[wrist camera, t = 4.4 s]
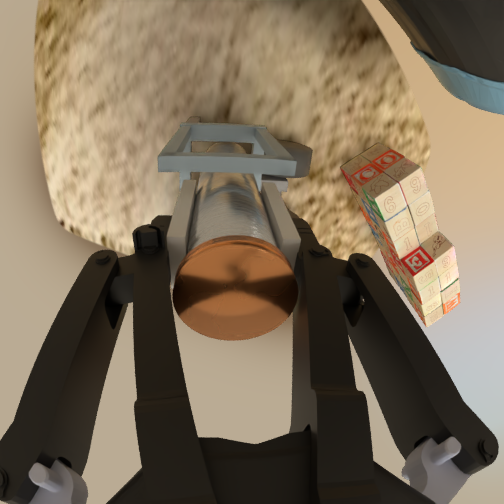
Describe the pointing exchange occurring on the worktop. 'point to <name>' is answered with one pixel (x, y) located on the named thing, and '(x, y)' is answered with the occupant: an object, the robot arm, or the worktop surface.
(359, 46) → the worktop surface
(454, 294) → the stack of blocks
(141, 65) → the worktop surface
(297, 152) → the cart
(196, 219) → the orange capped bottle
